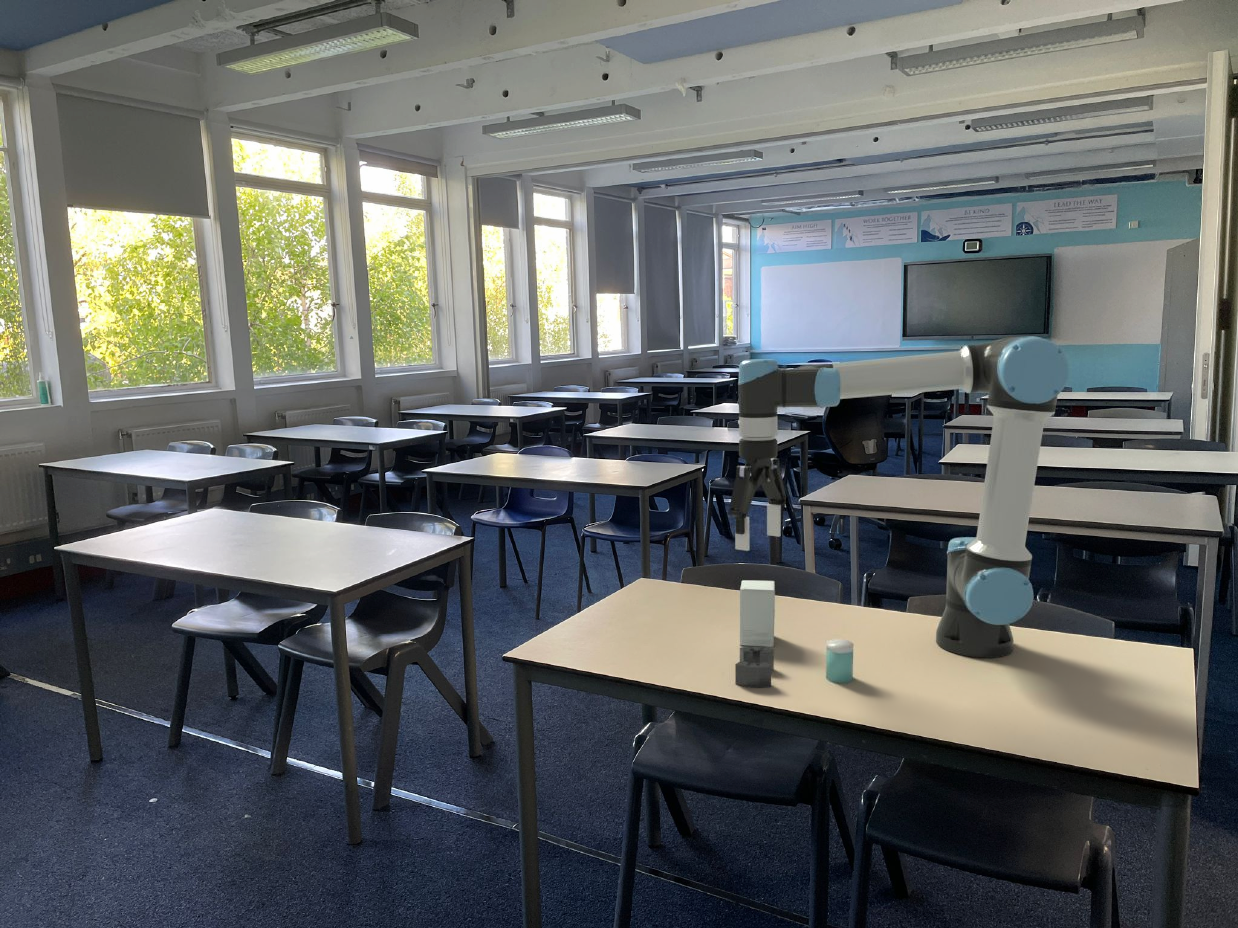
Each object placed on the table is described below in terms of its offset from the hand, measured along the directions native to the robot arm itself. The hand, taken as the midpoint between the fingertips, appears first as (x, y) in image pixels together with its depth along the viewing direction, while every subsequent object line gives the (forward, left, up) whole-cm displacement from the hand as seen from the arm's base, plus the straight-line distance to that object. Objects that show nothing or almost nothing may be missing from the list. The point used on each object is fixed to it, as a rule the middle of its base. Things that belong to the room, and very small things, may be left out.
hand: (758, 542), depth 174 cm
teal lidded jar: (-16, +7, -25) cm, 30 cm away
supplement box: (+1, -11, -25) cm, 27 cm away
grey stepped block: (0, +9, -25) cm, 26 cm away
